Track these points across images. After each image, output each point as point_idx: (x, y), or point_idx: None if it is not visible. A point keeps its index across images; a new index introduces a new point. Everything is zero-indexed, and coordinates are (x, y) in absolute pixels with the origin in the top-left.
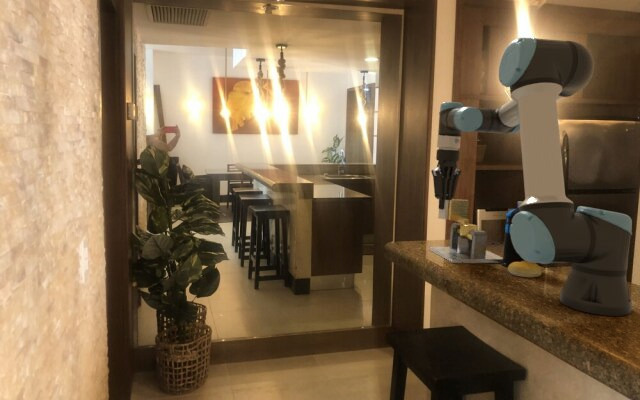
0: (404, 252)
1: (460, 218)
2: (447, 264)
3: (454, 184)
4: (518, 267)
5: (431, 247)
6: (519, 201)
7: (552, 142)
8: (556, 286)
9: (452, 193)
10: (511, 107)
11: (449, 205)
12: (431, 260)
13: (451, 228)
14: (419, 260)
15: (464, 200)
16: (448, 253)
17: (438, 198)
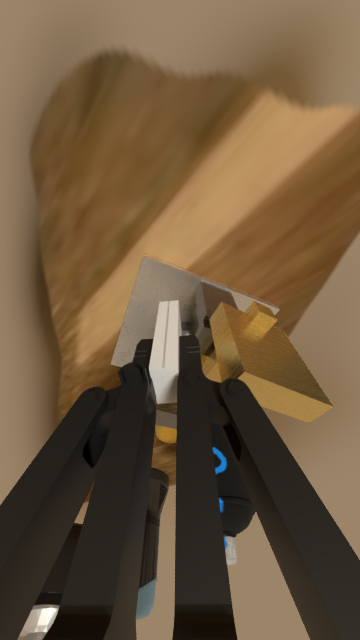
0: (50, 244)
1: (211, 368)
2: (96, 360)
3: (267, 537)
4: (158, 437)
5: (141, 264)
6: (229, 562)
7: None
8: (165, 452)
9: (227, 440)
10: None
11: (234, 343)
12: (81, 331)
13: (203, 312)
14: (53, 322)
15: (289, 415)
16: (138, 330)
17: (115, 390)
